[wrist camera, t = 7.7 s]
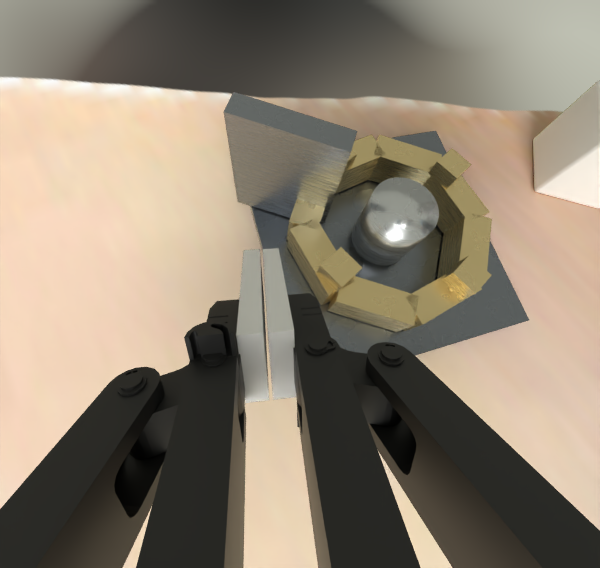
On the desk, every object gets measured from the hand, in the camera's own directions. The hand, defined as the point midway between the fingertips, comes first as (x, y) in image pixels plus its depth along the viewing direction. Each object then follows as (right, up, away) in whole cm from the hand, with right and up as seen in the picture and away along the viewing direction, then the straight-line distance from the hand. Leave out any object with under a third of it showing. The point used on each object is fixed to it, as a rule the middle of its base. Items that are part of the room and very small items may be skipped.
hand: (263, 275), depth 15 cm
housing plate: (+9, +3, +12) cm, 15 cm away
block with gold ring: (+6, +4, +11) cm, 13 cm away
